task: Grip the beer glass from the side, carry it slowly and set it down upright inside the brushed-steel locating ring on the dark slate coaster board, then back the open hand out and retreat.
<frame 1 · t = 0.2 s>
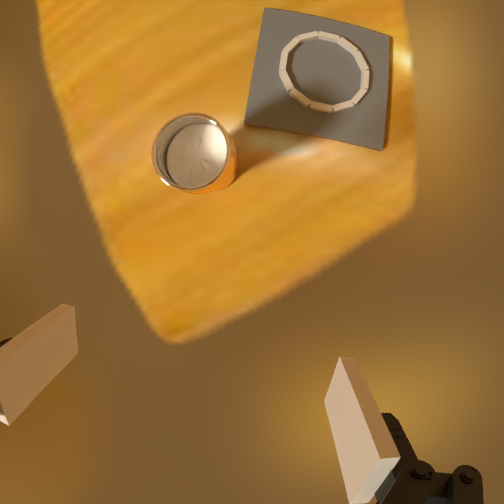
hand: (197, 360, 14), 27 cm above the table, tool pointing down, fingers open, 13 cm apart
coaster board: (322, 74, 37), on the table
beer glass: (213, 167, 39), on the table
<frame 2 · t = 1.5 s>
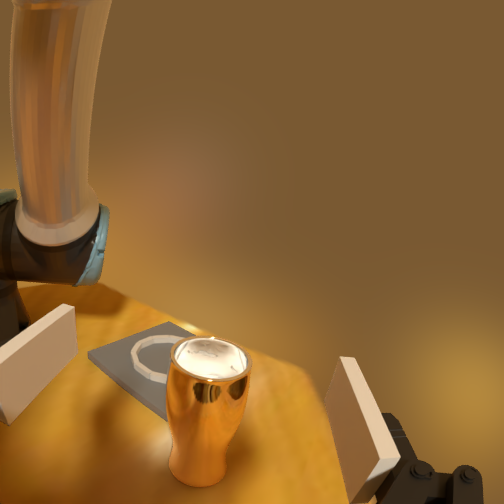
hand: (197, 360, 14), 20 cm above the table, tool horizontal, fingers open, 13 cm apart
coaster board: (169, 366, 45), on the table
beer glass: (197, 467, 28), on the table
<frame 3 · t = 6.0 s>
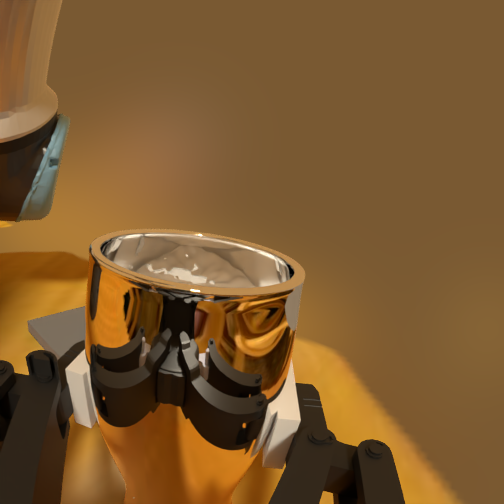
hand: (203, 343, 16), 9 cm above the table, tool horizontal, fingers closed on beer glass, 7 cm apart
coaster board: (142, 345, 30), on the table
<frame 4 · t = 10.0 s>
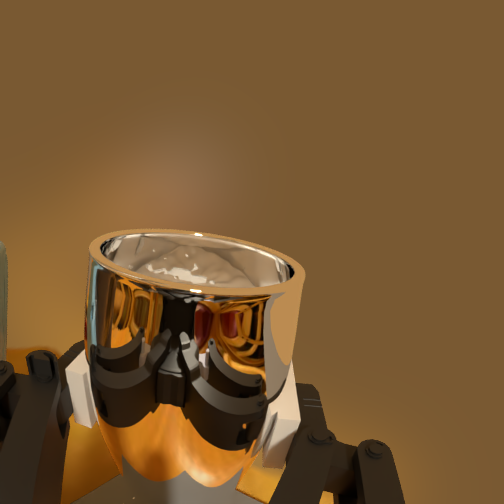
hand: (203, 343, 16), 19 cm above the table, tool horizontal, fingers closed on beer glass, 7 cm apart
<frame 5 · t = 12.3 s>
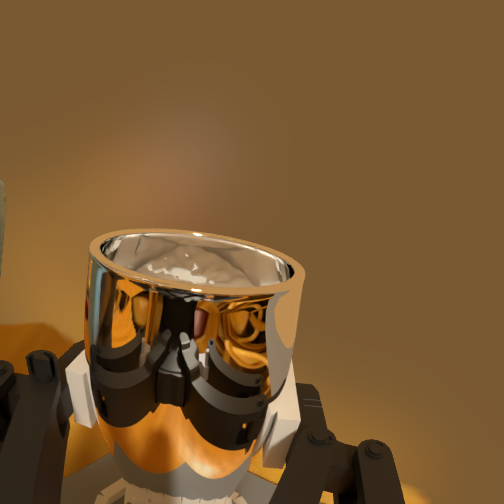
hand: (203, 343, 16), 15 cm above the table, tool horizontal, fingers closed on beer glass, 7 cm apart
when the fingers open (10 cm above the table, at t = 14.1 s): beer glass stays where it is, resting on coaster board.
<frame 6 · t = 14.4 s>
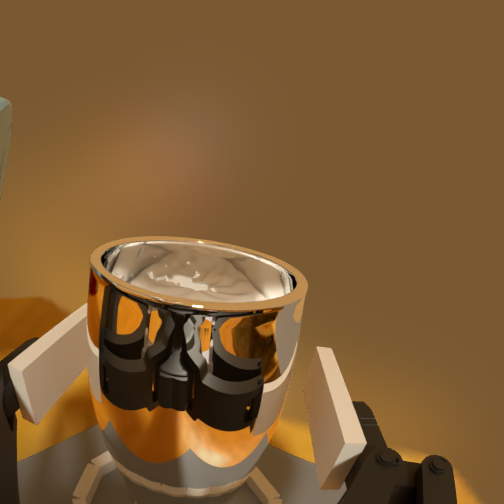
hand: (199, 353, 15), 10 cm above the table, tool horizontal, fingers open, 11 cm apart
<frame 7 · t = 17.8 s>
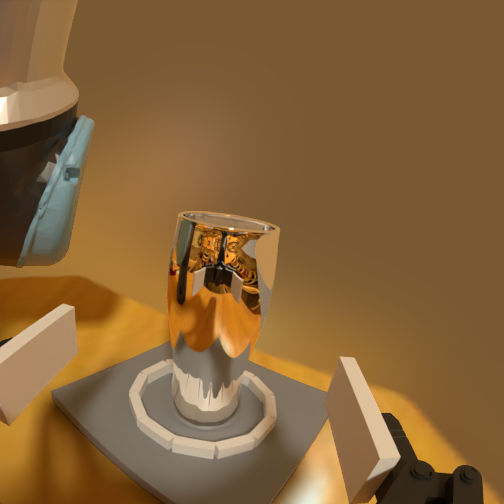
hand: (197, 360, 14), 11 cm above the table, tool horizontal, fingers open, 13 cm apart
coaster board: (201, 415, 24), on the table
beer glass: (203, 407, 24), point 1 cm above the table, touching coaster board
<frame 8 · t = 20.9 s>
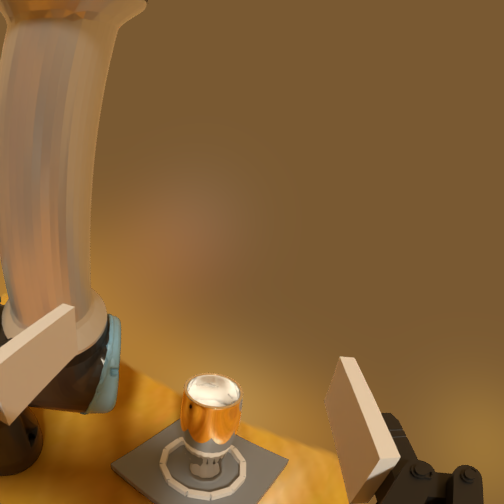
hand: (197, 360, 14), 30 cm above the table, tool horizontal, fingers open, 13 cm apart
coaster board: (202, 472, 36), on the table
beer glass: (203, 468, 36), point 1 cm above the table, touching coaster board
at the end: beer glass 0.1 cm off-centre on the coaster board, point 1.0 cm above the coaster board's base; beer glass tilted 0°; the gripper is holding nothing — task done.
